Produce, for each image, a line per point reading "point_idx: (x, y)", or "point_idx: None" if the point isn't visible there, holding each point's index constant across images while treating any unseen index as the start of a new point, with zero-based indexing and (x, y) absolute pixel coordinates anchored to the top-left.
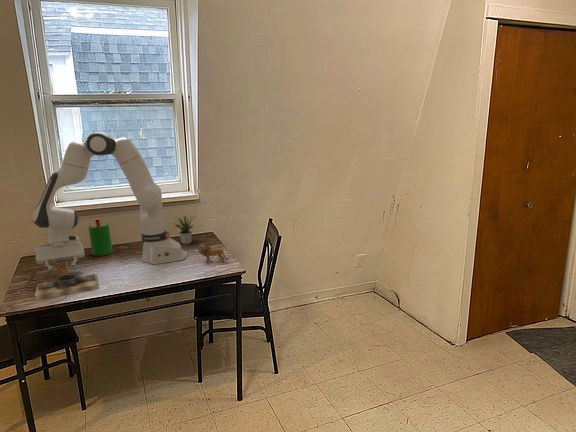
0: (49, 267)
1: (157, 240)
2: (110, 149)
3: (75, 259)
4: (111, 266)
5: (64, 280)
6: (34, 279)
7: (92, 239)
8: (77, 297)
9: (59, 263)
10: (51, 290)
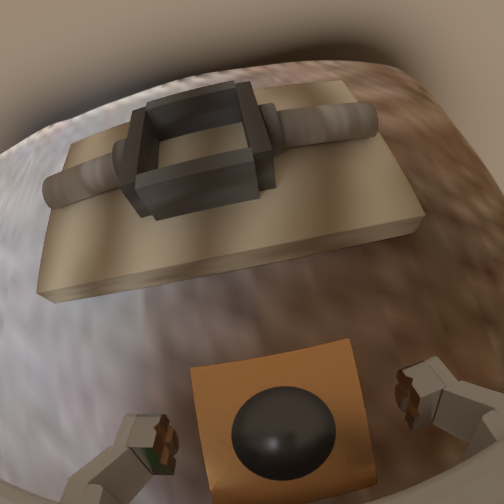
0: (434, 372)
1: None
2: None
3: (88, 468)
4: (8, 465)
5: (200, 93)
6: None
7: None
8: None
9: (294, 351)
10: (280, 105)
